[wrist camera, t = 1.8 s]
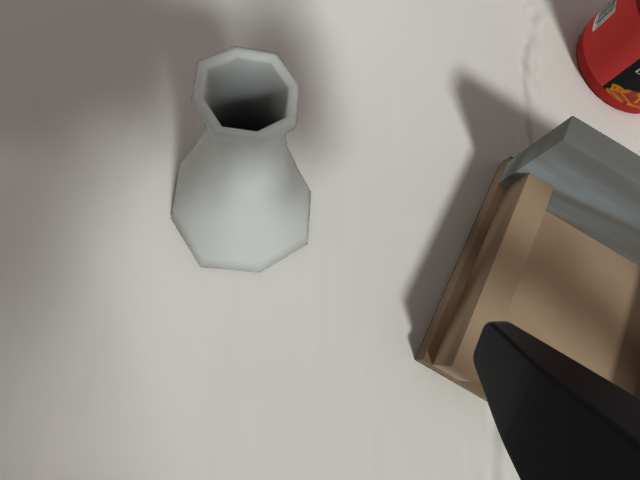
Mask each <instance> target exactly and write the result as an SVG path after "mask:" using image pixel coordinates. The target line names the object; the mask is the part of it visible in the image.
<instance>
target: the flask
mask: <svg viewBox="0 0 640 480" xmlns="http://www.w3.org/2000/svg"><path fill="white" fill-rule="evenodd" d="M298 95H299V84H298V83H297V81H296V80H295V78H294V77H293V76H292V74H291V73H290V71H289V70H288V68H287V67H286V65H285V64H284V63H283V61H282V60H281V58H280V57H279V55H278V54H277V53H272V52H267V51H261V50H255V49H249V48H243V47H238V46H235V47H232V48H230V49H227V50H225V51H222V52H220V53H217V54H215V55H212V56H210V57H208V58H205V59H203V60H200V61H198V63H197V70H196V76H195V82H194V88H193V95H192V104H193V105H194V107H195V108H196V110H197V111H198V113H199V115H200V116H201V118H202V119H203V121H204V122H205V124H206V129H205V131H204V133H203V134H202V136H201V137H200V139H199V140H198V142H197V143H196V145H195V146H194V148H193V149H192V150H191V152H190V153H189V154H188V155H187V156H186V158H185V159H184V160H183V161H182V163H181V164H180V166H179V172H178V178H177V184H176V190H175V197H174V203H173V209H172V215H171V219H172V221H173V223H174V224H175V226H176V228H177V229H178V231H179V233H180V234H181V236H182V237H183V239H184V241H185V242H186V244H187V246H188V247H189V249H190V251H191V252H192V254H193V255H194V257H195V259H196V260H197V262H198V264H199V265H200V267H205V268H216V269H228V270H239V271H250V272H261V271H263V270H265V269H266V268H268V267H270V266H271V265H273V264H275V263H276V262H278V261H280V260H281V259H283V258H285V257H286V256H288V255H290V254H291V253H293V252H295V251H296V250H298V249H300V248H301V247H303V246H305V245H306V244H308V232H309V216H310V200H311V191H310V189H309V187H308V185H307V183H306V182H305V180H304V178H303V177H302V175H301V173H300V172H299V170H298V168H297V166H296V164H295V161H294V159H293V157H292V155H291V153H290V151H289V149H288V147H287V143H286V135H285V133H287V132H289V131H291V130H293V129H294V128H295V127H296V121H297V108H298Z"/></svg>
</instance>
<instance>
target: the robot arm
mask: <svg viewBox="0 0 640 480" xmlns="http://www.w3.org/2000/svg"><path fill="white" fill-rule="evenodd" d="M473 362H474V366H475V369H476V372H477V374H478V377H479V380H480V383H481V385H482V388H483V391H484V394H485V396H486V399H487V402H488V404H489V407H490V410H491V413H492V415H493V418H494V421H495V424H496V426H497V429H498V431H499V434H500V436H501V439H502V441H503V443H504V446H505V448H506V450H507V452H508V454H509V456H510V458H511V461H512V463H513V465H514V467H515V469H516V471H517V473H518V475H519V477H520V479H521V480H640V399H639V398H638V397H636V396H634V395H633V394H631V393H629V392H627V391H626V390H624V389H622V388H621V387H619V386H617V385H616V384H614V383H612V382H610V381H609V380H607V379H605V378H604V377H602V376H600V375H599V374H597V373H595V372H593V371H592V370H590V369H588V368H587V367H585V366H583V365H582V364H580V363H578V362H576V361H575V360H573V359H571V358H570V357H568V356H566V355H565V354H563V353H561V352H560V351H558V350H556V349H554V348H553V347H551V346H549V345H548V344H546V343H544V342H543V341H541V340H539V339H537V338H536V337H534V336H532V335H531V334H529V333H527V332H526V331H524V330H522V329H520V328H519V327H517V326H515V325H514V324H512V323H510V322H507V321H491V322H487V323H486V324H485V325H484V326H483V329H482V331H481V334H480V337H479V339H478V342H477V345H476V347H475V350H474V353H473Z"/></svg>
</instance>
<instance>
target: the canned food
mask: <svg viewBox="0 0 640 480" xmlns="http://www.w3.org/2000/svg"><path fill="white" fill-rule="evenodd" d="M577 58H578V64H579V67H580V70H581V73H582V75H583V77H584V79H585V81H586V82H587V84H588V85H589V87H590V88H591V89H592V91H593V92H594V93H595V94H596V95H597V96H598V97H599V98H601V99H602V100H603V101H605V102H606V103H607V104H609V105H611V106H612V107H614V108H616V109H618V110H621V111H624V112H628V113H634V114H637V113H640V0H611V1H610V2H609V3H608V4H607V5H606V6H605V7H604V8H603V9H602V10H601V11H600V12H599V13H598V14H597V15H596V16H595V17H594V18H593V19H592V20H591V21H590V22H589V23H588V25H587V27H586V28H585V30H584V32H583V33H582V35H581V37H580V38H579V42H578V45H577Z"/></svg>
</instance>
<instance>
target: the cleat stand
mask: <svg viewBox="0 0 640 480" xmlns="http://www.w3.org/2000/svg"><path fill="white" fill-rule="evenodd" d="M491 321H507V322H510V323H512V324H514V325H515V326H517V327H519V328H520V329H522V330H524V331H526V332H527V333H529V334H531V335H532V336H534V337H536V338H537V339H539V340H541V341H543V342H544V343H546V344H548V345H549V346H551V347H553V348H554V349H556V350H558V351H560V352H561V353H563V354H565V355H566V356H568V357H570V358H571V359H573V360H575V361H576V362H578V363H580V364H582V365H583V366H585V367H587V368H588V369H590V370H592V371H593V372H595V373H597V374H599V375H600V376H602V377H604V378H605V379H607V380H609V381H610V382H612V383H614V384H616V385H617V386H619V387H621V388H622V389H624V390H626V391H627V392H629V393H631V394H633V395H634V396H636V397H638V398H639V399H640V156H639V155H637V154H635V153H634V152H632V151H630V150H629V149H627V148H625V147H624V146H622V145H621V144H619V143H617V142H616V141H614V140H612V139H611V138H609V137H607V136H606V135H604V134H602V133H601V132H599V131H597V130H596V129H594V128H592V127H591V126H589V125H587V124H586V123H584V122H582V121H581V120H579V119H577V118H576V117H574V116H572V117H570V118H569V119H567V120H566V121H565V122H563V123H562V124H561V125H559V126H558V127H556V128H555V129H554V130H552V131H551V132H549V133H548V134H547V135H545V136H544V137H543V138H541V139H540V140H538V141H537V142H536V143H534V144H533V145H531V146H530V147H529V148H527V149H526V150H524V151H523V152H522V153H520V154H519V155H518V156H516V157H515V158H513V157H511V156H510V157H509V158H507V159H506V160H504V161H503V162H502V163H500V165H499V168H498V170H497V172H496V175H495V177H494V179H493V181H492V184H491V186H490V188H489V191H488V193H487V195H486V198H485V200H484V202H483V205H482V207H481V209H480V211H479V214H478V216H477V218H476V221H475V223H474V225H473V228H472V230H471V232H470V234H469V237H468V239H467V241H466V244H465V246H464V248H463V251H462V253H461V255H460V258H459V260H458V262H457V264H456V267H455V269H454V271H453V274H452V276H451V278H450V281H449V283H448V285H447V287H446V290H445V292H444V294H443V297H442V299H441V301H440V304H439V306H438V308H437V311H436V313H435V315H434V317H433V320H432V322H431V324H430V327H429V329H428V331H427V334H426V336H425V338H424V340H423V343H422V345H421V347H420V350H419V352H418V354H417V357H416V359H415V360H416V361H418V362H420V363H421V364H423V365H425V366H427V367H428V368H430V369H432V370H434V371H435V372H437V373H439V374H440V375H442V376H444V377H446V378H447V379H449V380H451V381H453V382H454V383H456V384H458V385H459V386H461V387H463V388H465V389H466V390H468V391H470V392H472V393H473V394H475V395H477V396H478V397H480V398H482V399H484V400H485V401H487V399H486V396H485V394H484V391H483V388H482V385H481V383H480V380H479V377H478V374H477V372H476V369H475V366H474V362H473V353H474V350H475V347H476V345H477V342H478V339H479V337H480V334H481V331H482V329H483V326H484V325H485V324H486V323H487V322H491Z"/></svg>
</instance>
